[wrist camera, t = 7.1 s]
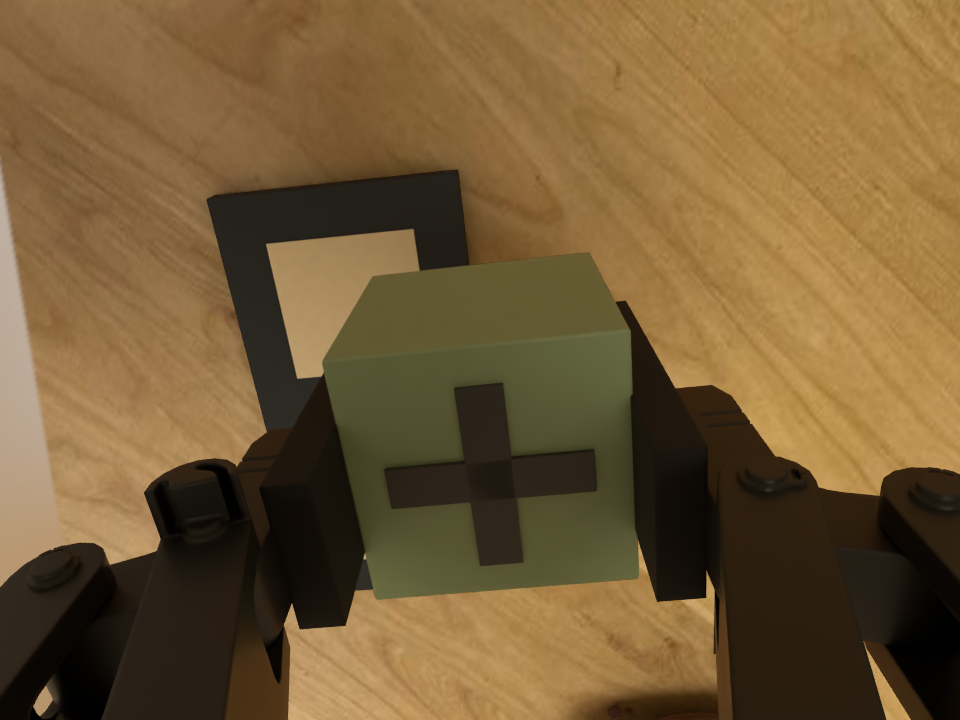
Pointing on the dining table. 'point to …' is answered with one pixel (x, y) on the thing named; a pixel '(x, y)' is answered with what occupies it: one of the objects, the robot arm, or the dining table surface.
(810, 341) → the dining table surface
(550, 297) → the green plus cube
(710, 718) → the alarm clock
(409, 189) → the word mat
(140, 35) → the dining table surface
